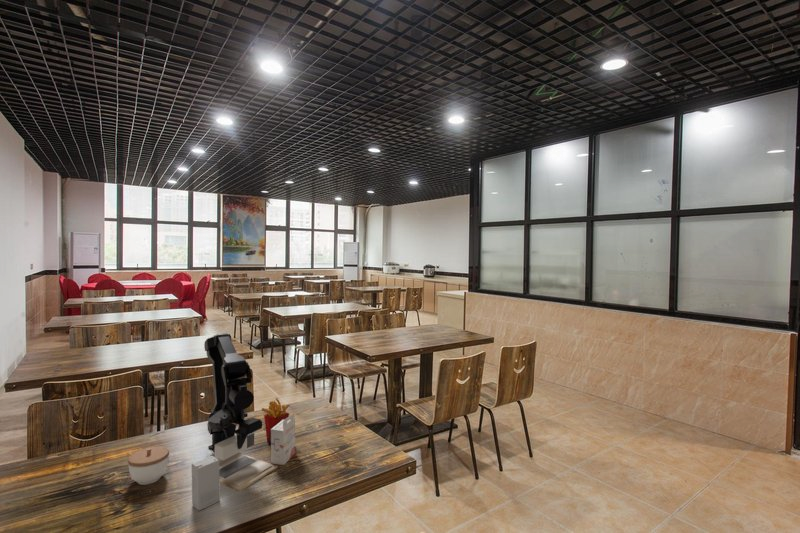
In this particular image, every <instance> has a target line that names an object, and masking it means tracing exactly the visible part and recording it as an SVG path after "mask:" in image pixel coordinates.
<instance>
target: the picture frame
mask: <svg viewBox="0 0 800 533" xmlns="http://www.w3.org/2000/svg"><path fill="white" fill-rule="evenodd" d="M218 460H219V484H221V485H223V486H226V487H229V488H231V489H234V490H236V491H237V492H241V491H243V489H245V488H247V487H249V486H251V485H252V484H254V483H256V482H257V481H260V479H263V478H264V477H265V476H267V475H268V474H270V473H272V472H274V471H275V470H277V469H278V468H279V467H278V465H276V464H271V462H267V461H264V460H262V459H258V458H256V457H252V456H250V455H247V454H245V453H242V452H239V453H237V454H235V455H233V456H231V457H229V458H227V459H225V460H221V459H218Z"/></svg>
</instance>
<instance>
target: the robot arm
mask: <svg viewBox="0 0 800 533" xmlns="http://www.w3.org/2000/svg"><path fill="white" fill-rule="evenodd" d="M203 345H204V351H205V352H206V357H207V358H208V360H209V361H210V362H211V363H212V364H211V365H212V367H211V368H212V378H213V379H212V380H213V392H214V393H213V394H214V405H213V407H212V409H211V411H210V414H209V416H208V420H207V421H208V422H207V424H206V425H207V432H208V433H209V435H212V436H211V437H212V438H211V440H212V441H211V444H210V445H208V449H210V450H212V451H215V444H217V443H219V442H221V441H223V440H226V439H228V438H230V437H232V436H234V435H237V446H238V449H241V448H242V446H243V444H244V442H245V440H246V437H247V436H248V434H251V433H255V432H256V431H259V430H261V429H262V428H263V421H262V420H261V419H260V418H255V417H250V418H248V413H247V412H245V410H246V409H248V408H249V407H250V406H251V405H252V404H253V402H254V394H253V393H252V392H251V391H250V389H249V388H248V386H247V384H250V383H252V378H253V374H252V370H251V366H250V365H249V362H248V361H247V360H246V358H244V356H243V355H241V354H238V353H237V351H236V348H235V345H234V343H233V342H232V336H231V333H228V332H226V333H217V334H215V335H213V336H211V337H208V338H206V339H205V341H204V344H203ZM246 417H247V419H246ZM237 426H238V428H237Z"/></svg>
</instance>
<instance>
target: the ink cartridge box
mask: <svg viewBox="0 0 800 533" xmlns="http://www.w3.org/2000/svg"><path fill="white" fill-rule="evenodd" d="M295 454H296V418H295V412H292V413H291V414H289V417H288V418H286V419H285V420H282V421H281V422H279V423H278V424H277V425H276V426H274V427H273V428H272V429H271V442H270V464H273V465H281V466H285V465H286V464H287V462H288V461H290V459H292V457H293V456H294V455H295Z"/></svg>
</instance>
